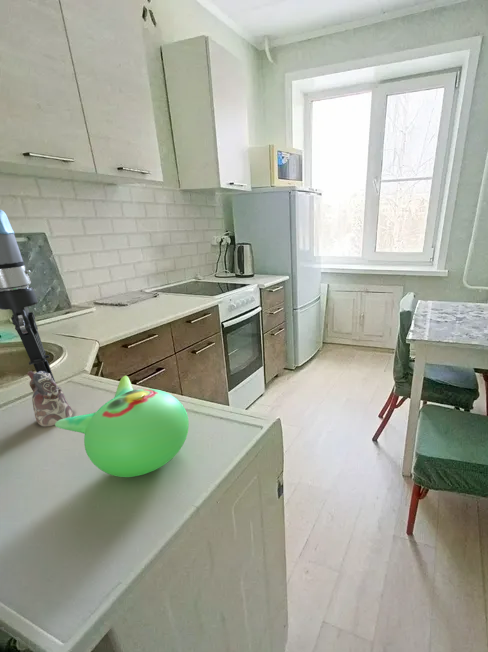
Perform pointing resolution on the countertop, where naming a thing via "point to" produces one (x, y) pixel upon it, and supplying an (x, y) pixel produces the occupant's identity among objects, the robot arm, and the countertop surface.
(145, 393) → the toy bird
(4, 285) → the robot arm
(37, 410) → the figurine
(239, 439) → the countertop surface
